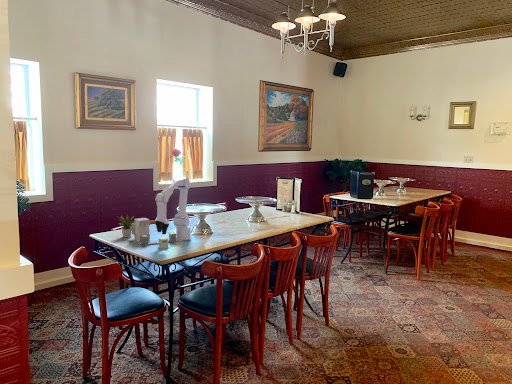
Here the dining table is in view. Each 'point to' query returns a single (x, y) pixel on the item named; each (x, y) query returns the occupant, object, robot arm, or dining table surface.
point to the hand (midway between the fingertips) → (161, 233)
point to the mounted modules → (145, 238)
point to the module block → (163, 242)
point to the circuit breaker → (140, 228)
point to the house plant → (126, 227)
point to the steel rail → (155, 243)
